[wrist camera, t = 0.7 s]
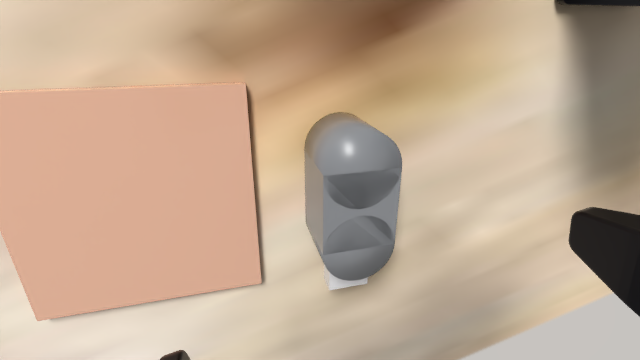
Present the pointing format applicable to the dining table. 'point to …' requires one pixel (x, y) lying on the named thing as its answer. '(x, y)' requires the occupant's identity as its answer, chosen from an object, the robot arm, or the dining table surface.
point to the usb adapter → (351, 197)
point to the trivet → (127, 194)
